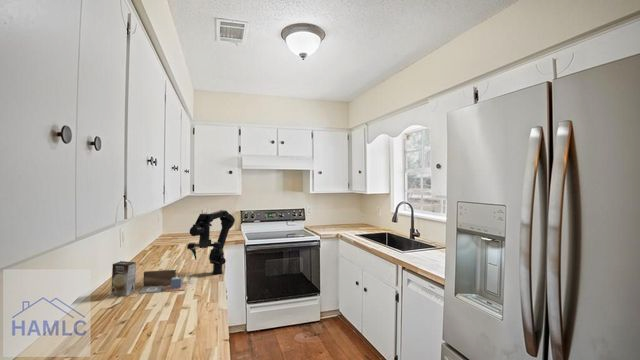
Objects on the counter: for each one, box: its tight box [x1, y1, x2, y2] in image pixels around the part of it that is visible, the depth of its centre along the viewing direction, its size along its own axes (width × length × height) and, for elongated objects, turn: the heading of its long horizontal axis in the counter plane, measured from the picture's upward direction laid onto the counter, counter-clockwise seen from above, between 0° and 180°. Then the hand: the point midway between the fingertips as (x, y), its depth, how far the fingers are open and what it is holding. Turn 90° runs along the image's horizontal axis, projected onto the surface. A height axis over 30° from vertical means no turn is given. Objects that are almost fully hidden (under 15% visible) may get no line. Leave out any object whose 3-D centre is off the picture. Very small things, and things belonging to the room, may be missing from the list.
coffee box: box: [110, 260, 137, 297], centre depth 159 cm, size 9×6×16 cm
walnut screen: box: [142, 269, 177, 288], centre depth 174 cm, size 2×16×8 cm, turn 107°
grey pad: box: [139, 285, 165, 295], centre depth 166 cm, size 10×10×1 cm
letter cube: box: [171, 276, 183, 289], centre depth 169 cm, size 5×5×5 cm
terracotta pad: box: [164, 283, 188, 293], centre depth 169 cm, size 10×10×1 cm
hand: (203, 259), depth 188 cm, fingers open, 9 cm apart
